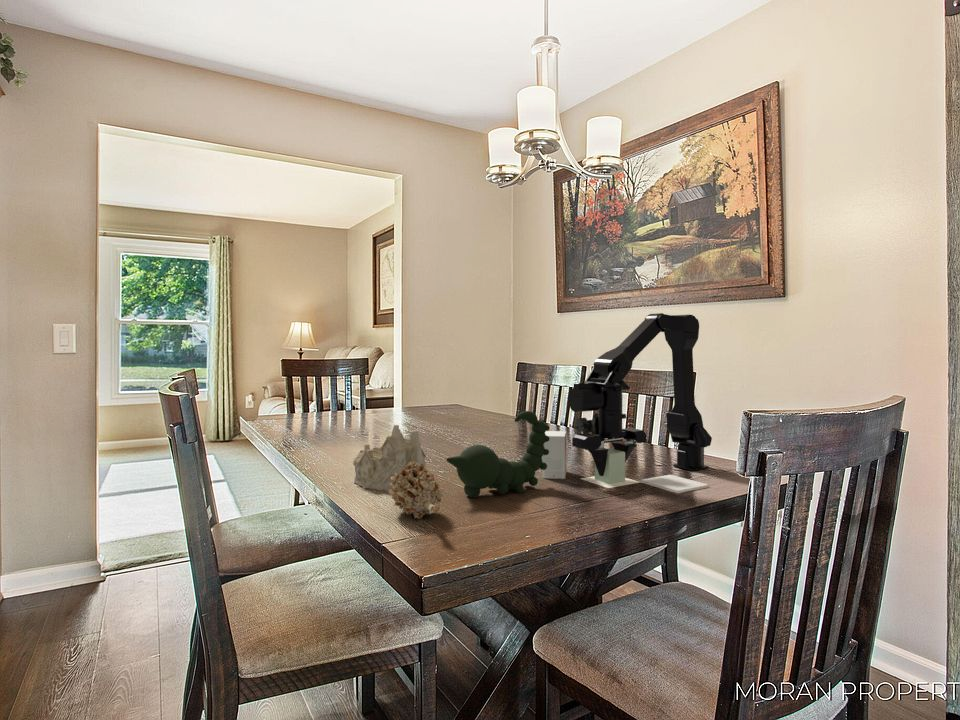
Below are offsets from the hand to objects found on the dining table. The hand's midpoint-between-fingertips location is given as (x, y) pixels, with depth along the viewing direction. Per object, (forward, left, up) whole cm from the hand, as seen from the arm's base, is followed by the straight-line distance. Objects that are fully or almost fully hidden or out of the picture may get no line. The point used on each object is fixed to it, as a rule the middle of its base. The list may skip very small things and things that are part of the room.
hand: (609, 474), depth 135 cm
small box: (+8, -11, -2) cm, 14 cm away
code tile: (0, 0, -2) cm, 2 cm away
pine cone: (+50, +3, -2) cm, 50 cm away
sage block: (0, 0, -1) cm, 1 cm away
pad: (-10, +10, -2) cm, 15 cm away
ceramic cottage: (+45, -26, -2) cm, 52 cm away
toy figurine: (+28, -5, -2) cm, 28 cm away
